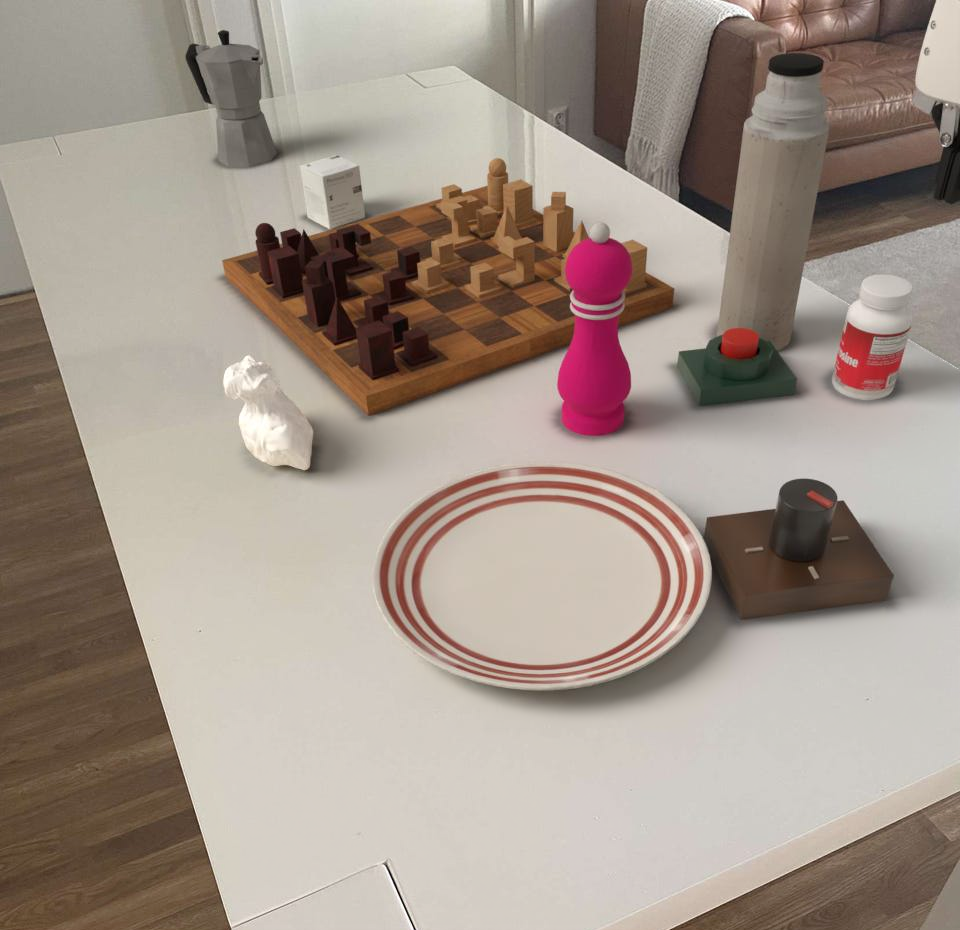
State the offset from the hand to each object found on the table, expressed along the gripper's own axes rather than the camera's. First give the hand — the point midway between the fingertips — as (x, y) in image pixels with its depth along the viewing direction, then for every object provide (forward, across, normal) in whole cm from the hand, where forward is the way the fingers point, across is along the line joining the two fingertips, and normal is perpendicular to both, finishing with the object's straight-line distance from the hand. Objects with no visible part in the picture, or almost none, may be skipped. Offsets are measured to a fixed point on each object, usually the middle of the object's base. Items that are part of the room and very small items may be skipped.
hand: (952, 196), depth 83 cm
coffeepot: (+22, +114, +10) cm, 116 cm away
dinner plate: (+22, +4, +41) cm, 47 cm away
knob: (+19, -8, +24) cm, 32 cm away
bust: (+22, +36, +48) cm, 64 cm away
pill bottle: (+22, +6, -4) cm, 24 cm away
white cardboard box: (+22, +82, +12) cm, 86 cm away
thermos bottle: (+22, +20, -4) cm, 31 cm away
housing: (+22, +16, +5) cm, 27 cm away
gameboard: (+22, +54, +15) cm, 60 cm away
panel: (+22, -8, +24) cm, 34 cm away
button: (+18, +16, +5) cm, 25 cm away
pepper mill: (+22, +20, +21) cm, 37 cm away
